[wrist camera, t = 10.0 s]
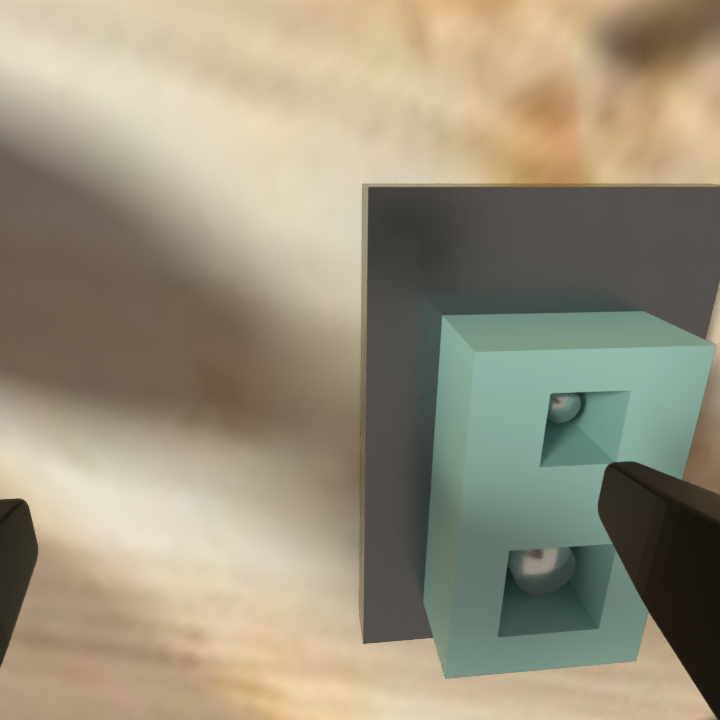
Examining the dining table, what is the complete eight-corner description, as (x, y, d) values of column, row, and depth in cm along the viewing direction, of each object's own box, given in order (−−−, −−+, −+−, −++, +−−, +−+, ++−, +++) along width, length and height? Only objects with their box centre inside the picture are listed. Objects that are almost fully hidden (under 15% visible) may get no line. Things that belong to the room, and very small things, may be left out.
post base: (359, 615, 24) (370, 699, 20) (362, 183, 18) (380, 193, 14) (618, 593, 25) (673, 670, 22) (709, 183, 19) (809, 192, 15)
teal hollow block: (587, 588, 23) (636, 660, 20) (423, 601, 22) (444, 678, 19) (643, 311, 19) (716, 345, 16) (442, 315, 18) (474, 352, 15)
